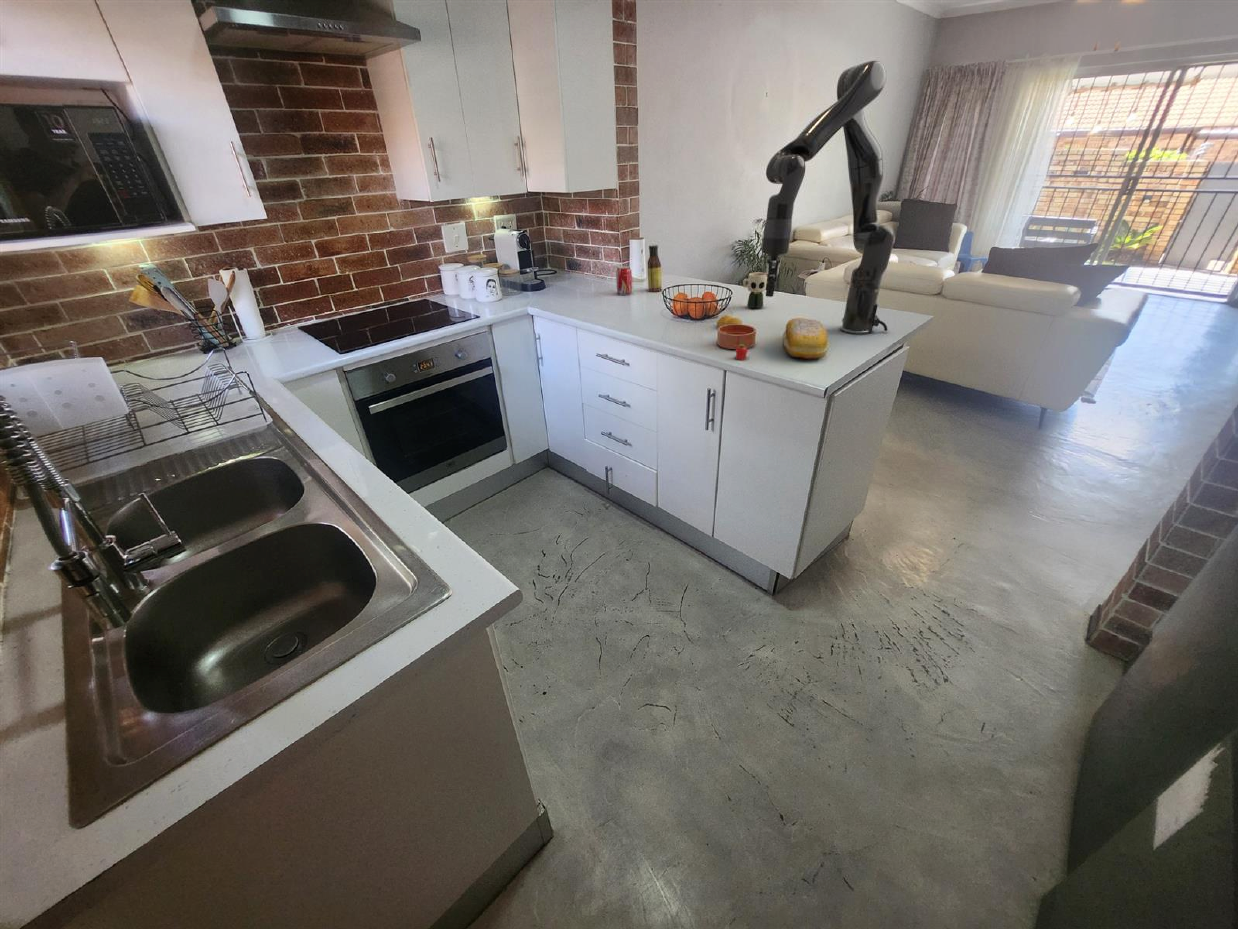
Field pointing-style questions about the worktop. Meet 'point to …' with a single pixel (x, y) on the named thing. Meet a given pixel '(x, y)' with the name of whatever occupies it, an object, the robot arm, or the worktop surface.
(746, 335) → the bowl
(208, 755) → the worktop surface
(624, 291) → the soda can
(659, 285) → the sauce bottle
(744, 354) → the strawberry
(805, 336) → the bread
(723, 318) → the bread roll
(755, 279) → the character mug
